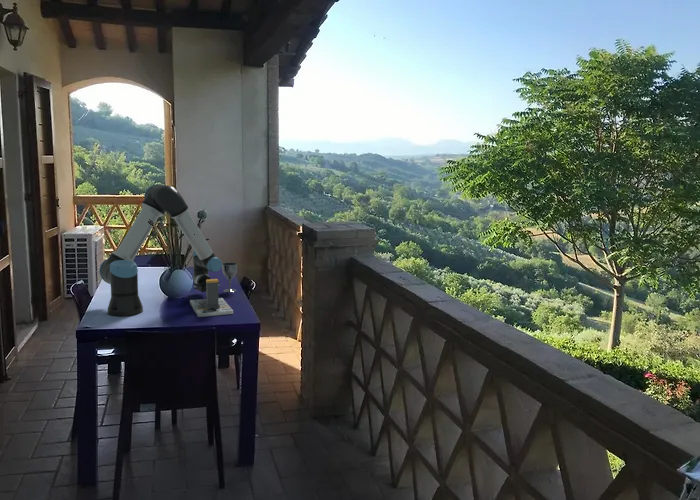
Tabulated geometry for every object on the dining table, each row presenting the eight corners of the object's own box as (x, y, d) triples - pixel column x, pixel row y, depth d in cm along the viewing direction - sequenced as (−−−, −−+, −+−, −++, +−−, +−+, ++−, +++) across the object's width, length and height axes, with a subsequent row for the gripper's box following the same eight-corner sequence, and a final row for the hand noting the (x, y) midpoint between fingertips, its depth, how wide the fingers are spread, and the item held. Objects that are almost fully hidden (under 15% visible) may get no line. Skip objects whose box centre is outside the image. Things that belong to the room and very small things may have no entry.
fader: (206, 308, 266) (206, 281, 264) (205, 305, 270) (204, 279, 268) (219, 307, 268) (219, 280, 266) (217, 304, 272) (217, 278, 270)
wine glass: (233, 292, 306) (233, 265, 303) (220, 291, 307) (219, 264, 305) (239, 289, 314) (239, 262, 311) (226, 288, 315) (225, 262, 313)
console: (198, 317, 258) (198, 313, 258) (190, 303, 282) (189, 300, 282) (233, 314, 265) (233, 310, 264) (222, 300, 288) (222, 297, 288)
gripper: (217, 288, 294) (226, 299, 273) (191, 290, 289) (198, 301, 268) (216, 274, 293) (226, 283, 272) (190, 275, 288) (198, 285, 267)
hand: (212, 292), depth 270 cm, fingers closed
